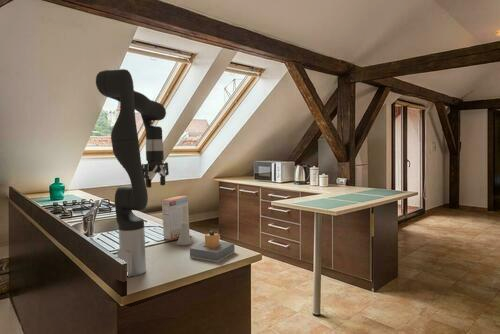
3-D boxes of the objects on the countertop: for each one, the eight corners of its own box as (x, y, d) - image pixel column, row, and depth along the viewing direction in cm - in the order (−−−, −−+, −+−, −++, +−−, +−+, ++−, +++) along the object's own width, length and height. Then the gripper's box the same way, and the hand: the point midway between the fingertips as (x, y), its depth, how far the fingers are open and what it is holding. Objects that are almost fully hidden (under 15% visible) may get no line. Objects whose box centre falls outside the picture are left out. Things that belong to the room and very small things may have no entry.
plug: (213, 255, 145) (213, 232, 145) (205, 254, 148) (204, 231, 147) (219, 252, 149) (218, 230, 149) (211, 251, 151) (210, 229, 151)
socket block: (217, 262, 139) (216, 252, 139) (189, 257, 146) (189, 248, 145) (234, 252, 151) (234, 243, 151) (208, 248, 158) (208, 239, 158)
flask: (185, 240, 171) (185, 221, 170) (195, 243, 166) (194, 223, 166) (174, 244, 165) (173, 224, 165) (183, 246, 161) (183, 226, 160)
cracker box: (181, 233, 186) (180, 195, 185) (189, 234, 183) (188, 196, 182) (162, 239, 174) (161, 199, 173) (171, 241, 171) (169, 200, 170)
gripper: (149, 150, 142) (150, 188, 143) (172, 149, 154) (173, 184, 155) (136, 150, 145) (137, 188, 146) (159, 149, 158) (160, 184, 159)
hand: (156, 186), depth 151 cm, fingers open, 8 cm apart
